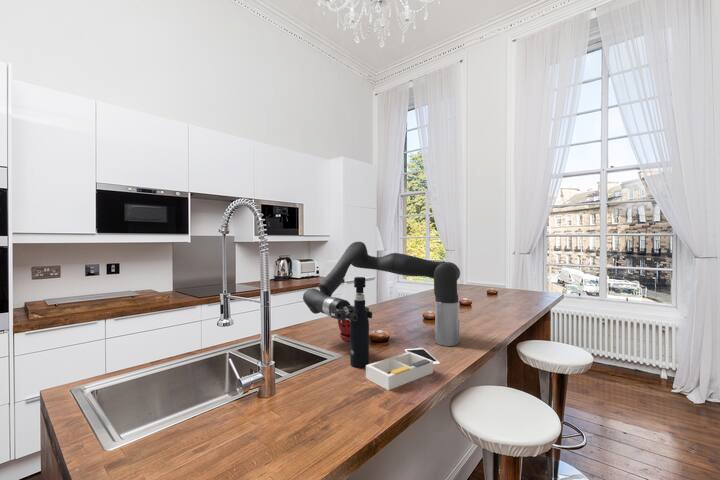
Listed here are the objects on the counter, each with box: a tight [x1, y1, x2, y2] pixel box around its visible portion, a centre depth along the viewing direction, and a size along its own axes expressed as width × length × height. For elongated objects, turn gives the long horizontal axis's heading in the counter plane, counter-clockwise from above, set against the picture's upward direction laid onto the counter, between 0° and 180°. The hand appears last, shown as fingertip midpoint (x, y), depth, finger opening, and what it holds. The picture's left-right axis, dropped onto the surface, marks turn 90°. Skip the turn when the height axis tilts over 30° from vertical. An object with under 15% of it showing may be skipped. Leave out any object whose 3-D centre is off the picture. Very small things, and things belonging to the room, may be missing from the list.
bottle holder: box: [365, 352, 434, 391], centre depth 106 cm, size 20×11×5 cm, turn 128°
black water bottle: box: [349, 276, 370, 369], centre depth 115 cm, size 6×6×30 cm
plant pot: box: [337, 319, 351, 342], centre depth 144 cm, size 13×13×12 cm
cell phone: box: [404, 347, 441, 366], centre depth 123 cm, size 8×16×1 cm, turn 11°
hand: (364, 316), depth 113 cm, fingers open, 5 cm apart
